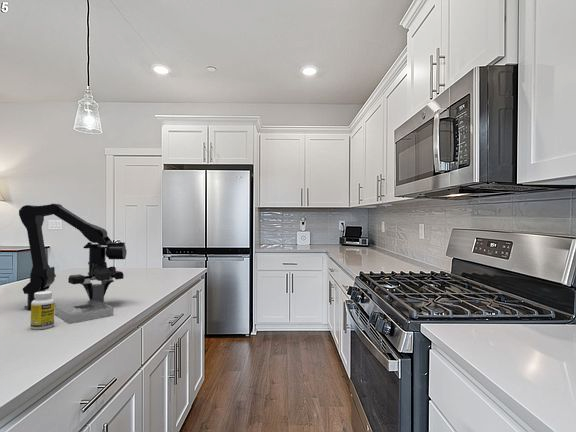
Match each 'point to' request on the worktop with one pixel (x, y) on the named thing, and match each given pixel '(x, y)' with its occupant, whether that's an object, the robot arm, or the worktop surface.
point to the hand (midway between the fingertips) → (96, 298)
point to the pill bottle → (42, 310)
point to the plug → (97, 292)
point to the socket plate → (83, 311)
